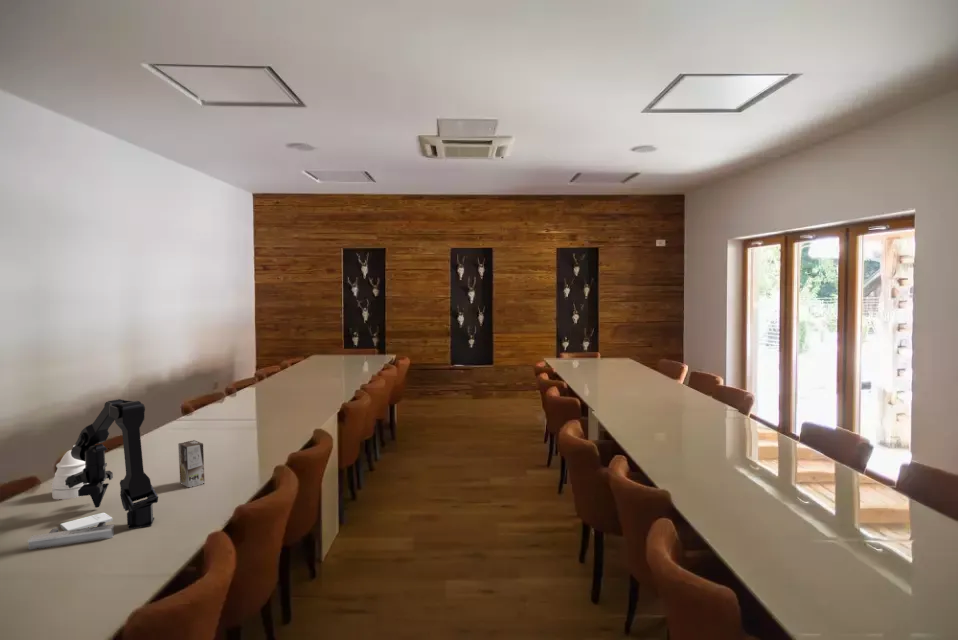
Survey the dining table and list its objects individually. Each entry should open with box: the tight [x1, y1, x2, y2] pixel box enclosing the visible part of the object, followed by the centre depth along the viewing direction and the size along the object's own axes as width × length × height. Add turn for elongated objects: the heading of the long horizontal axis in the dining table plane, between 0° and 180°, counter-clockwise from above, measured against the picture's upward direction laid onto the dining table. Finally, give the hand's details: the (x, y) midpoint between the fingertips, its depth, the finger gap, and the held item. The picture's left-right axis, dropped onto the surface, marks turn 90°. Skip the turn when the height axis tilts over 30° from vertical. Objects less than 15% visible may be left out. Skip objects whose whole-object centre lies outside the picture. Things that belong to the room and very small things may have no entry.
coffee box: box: [177, 439, 205, 488], centre depth 223 cm, size 9×6×16 cm
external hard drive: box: [59, 511, 113, 531], centre depth 185 cm, size 2×8×12 cm
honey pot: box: [51, 444, 89, 500], centre depth 214 cm, size 13×13×18 cm
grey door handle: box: [27, 522, 115, 551], centre depth 174 cm, size 21×9×3 cm, turn 111°
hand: (97, 507), depth 197 cm, fingers closed
